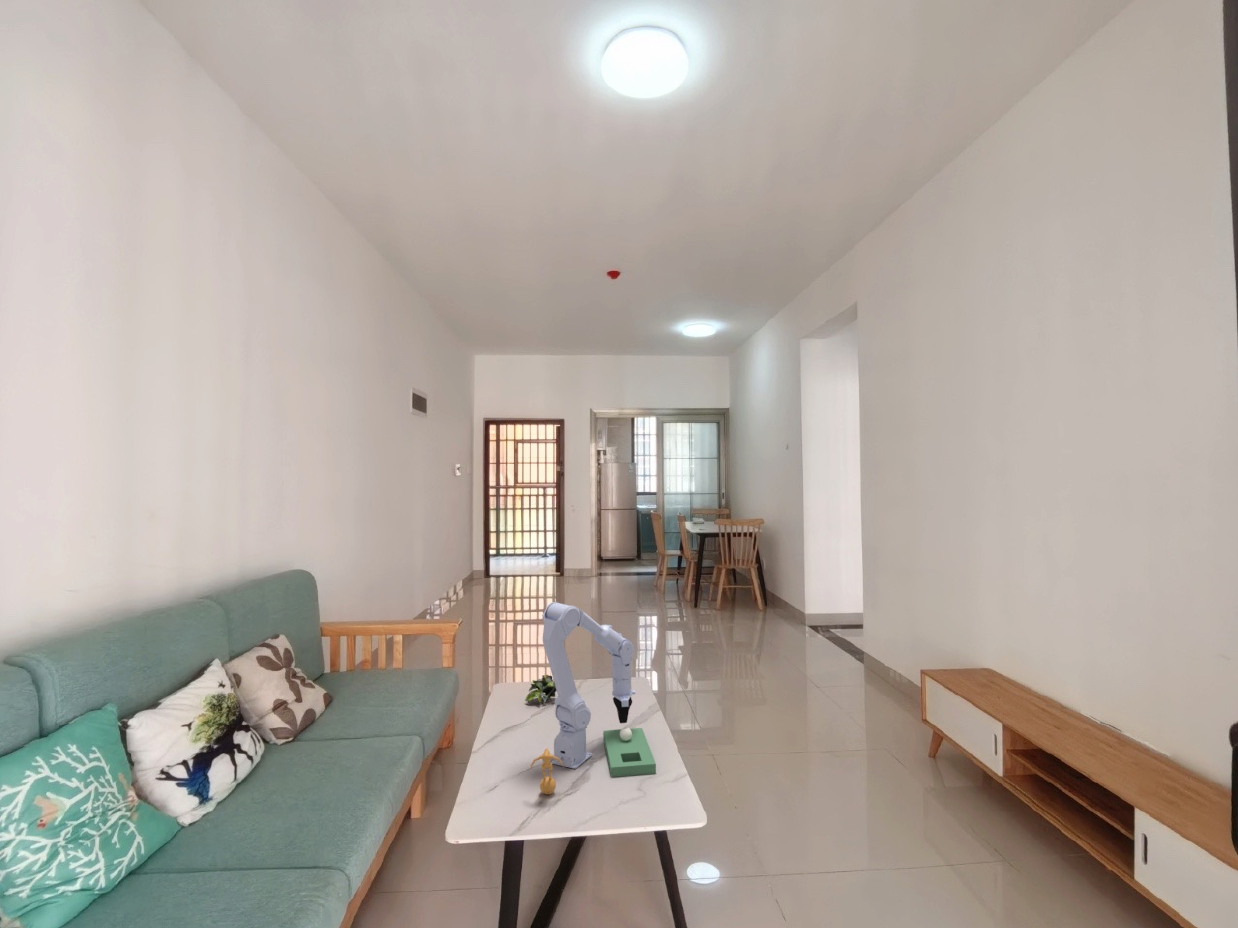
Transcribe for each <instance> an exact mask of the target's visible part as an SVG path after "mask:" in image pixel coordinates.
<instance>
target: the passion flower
mask: <svg viewBox="0 0 1238 928" xmlns="http://www.w3.org/2000/svg"><path fill="white" fill-rule="evenodd" d="M541 677H542V678H537V679H536V680H535V679H533V680H532V683H530V686H531V687H530V688H529V689H528V694H527V696H526V698H525V699H524V700H525V702H527V703H530V701H532V700H533V699H535V698H537V700H538V702H539V703H542V701H543V704H542V707H544V706H545V703H546V702H547V700H548V699H551V697H552V698H555V697H556V693H557V690H556V686H555V683H554V679H553V676H552V675H549V674H545V675H542V676H541Z"/></svg>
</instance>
